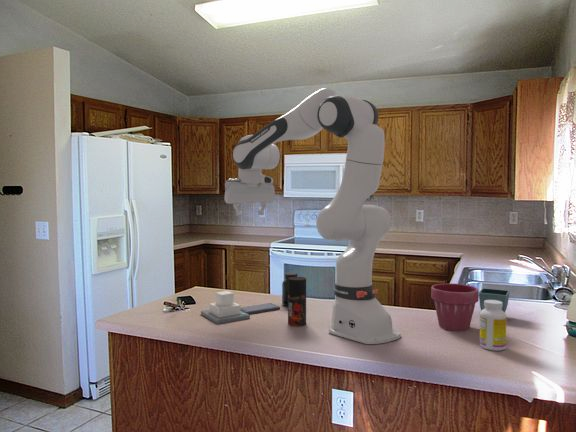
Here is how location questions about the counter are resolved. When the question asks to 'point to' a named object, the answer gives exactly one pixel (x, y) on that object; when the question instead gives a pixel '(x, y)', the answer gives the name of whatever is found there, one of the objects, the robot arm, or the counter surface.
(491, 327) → the supplement bottle
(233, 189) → the robot arm
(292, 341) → the counter surface
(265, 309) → the phone
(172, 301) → the counter surface
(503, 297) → the flower pot
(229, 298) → the block
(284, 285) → the supplement bottle
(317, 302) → the counter surface
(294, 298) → the deodorant
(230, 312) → the dock
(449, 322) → the plant pot
